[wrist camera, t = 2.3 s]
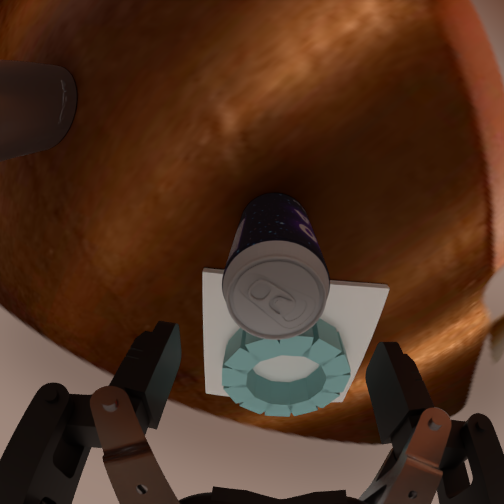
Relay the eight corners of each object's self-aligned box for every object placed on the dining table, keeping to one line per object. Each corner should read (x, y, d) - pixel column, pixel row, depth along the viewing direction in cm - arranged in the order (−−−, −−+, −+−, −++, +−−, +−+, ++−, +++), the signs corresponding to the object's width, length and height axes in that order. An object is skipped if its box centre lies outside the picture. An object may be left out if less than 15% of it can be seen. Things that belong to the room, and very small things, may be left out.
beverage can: (281, 264, 26) (286, 359, 15) (228, 230, 25) (197, 311, 14) (320, 216, 24) (357, 289, 13) (266, 177, 23) (261, 223, 12)
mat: (206, 388, 34) (205, 393, 34) (204, 267, 27) (202, 271, 26) (341, 397, 34) (342, 401, 33) (387, 284, 26) (389, 288, 26)
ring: (225, 389, 33) (221, 410, 30) (228, 306, 28) (222, 329, 24) (327, 395, 33) (330, 416, 29) (357, 316, 27) (366, 338, 24)
